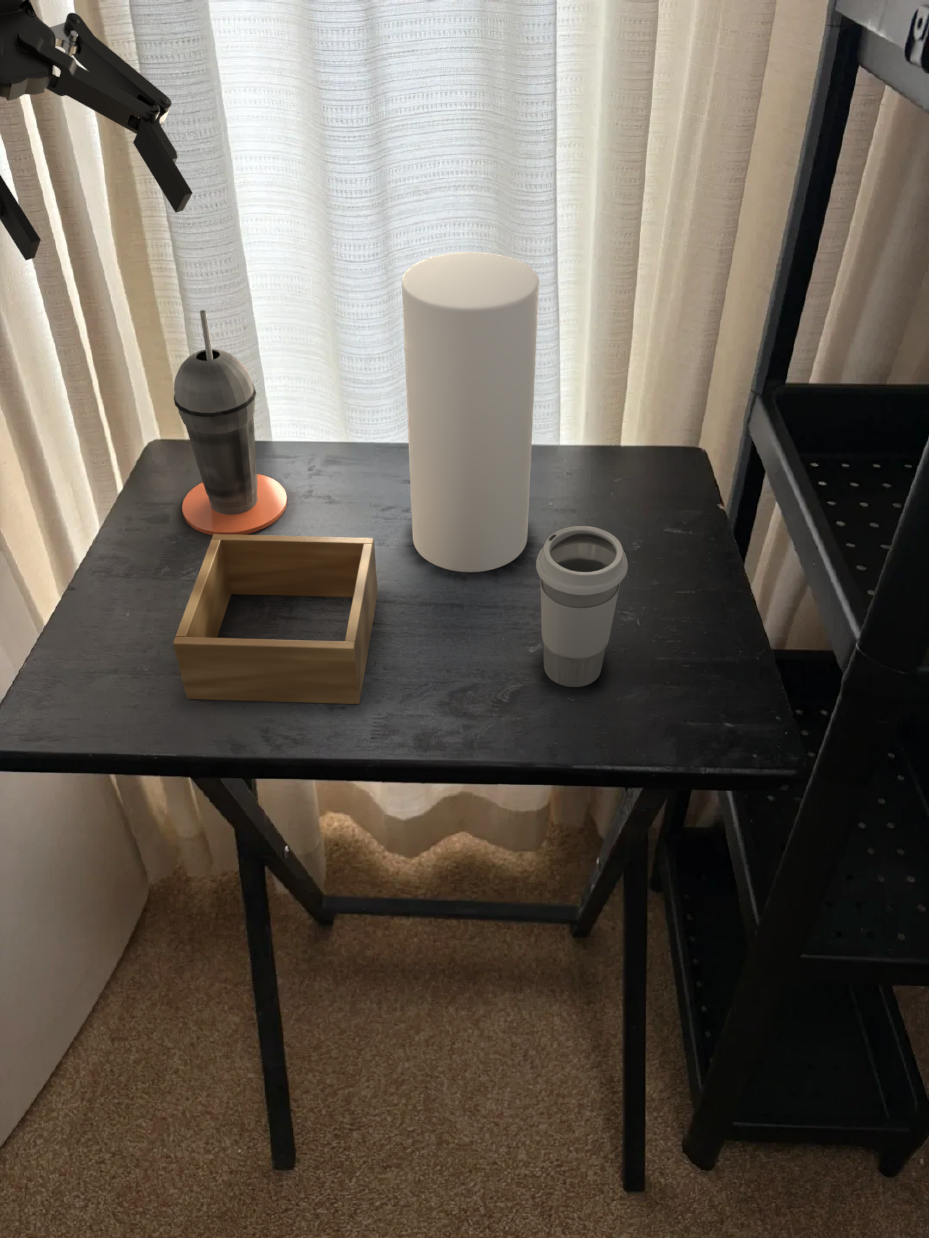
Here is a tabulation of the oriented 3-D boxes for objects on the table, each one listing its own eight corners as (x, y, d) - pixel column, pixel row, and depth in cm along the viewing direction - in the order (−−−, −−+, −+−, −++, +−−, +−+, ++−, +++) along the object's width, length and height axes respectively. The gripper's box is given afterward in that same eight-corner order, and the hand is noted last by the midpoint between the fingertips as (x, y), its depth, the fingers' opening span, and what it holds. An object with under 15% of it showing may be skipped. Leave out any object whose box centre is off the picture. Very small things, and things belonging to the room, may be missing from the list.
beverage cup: (258, 472, 105) (228, 281, 92) (282, 511, 100) (253, 314, 87) (187, 491, 102) (145, 297, 89) (207, 531, 98) (166, 332, 84)
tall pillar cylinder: (402, 566, 94) (388, 303, 78) (424, 498, 102) (415, 247, 86) (519, 577, 93) (531, 313, 77) (533, 508, 101) (545, 255, 84)
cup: (560, 627, 88) (569, 511, 80) (629, 658, 85) (646, 541, 77) (513, 675, 84) (518, 558, 76) (585, 710, 81) (598, 592, 73)
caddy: (359, 704, 82) (353, 648, 78) (186, 699, 82) (172, 643, 78) (377, 592, 92) (373, 537, 88) (224, 588, 92) (213, 533, 88)
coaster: (224, 550, 96) (223, 546, 96) (162, 506, 101) (161, 502, 101) (308, 504, 102) (307, 500, 101) (245, 465, 107) (244, 461, 106)
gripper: (93, -10, 90) (225, 209, 92) (-207, 41, 77) (-45, 297, 79) (113, -77, 84) (254, 160, 86) (-210, -34, 70) (-33, 246, 72)
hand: (112, 226), depth 82 cm, fingers open, 13 cm apart
